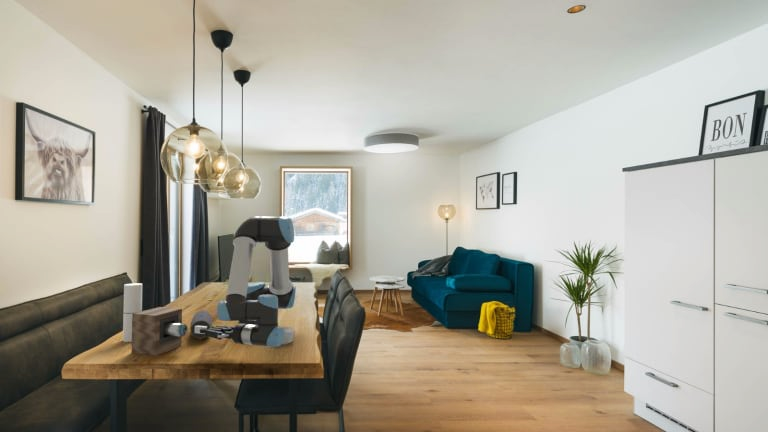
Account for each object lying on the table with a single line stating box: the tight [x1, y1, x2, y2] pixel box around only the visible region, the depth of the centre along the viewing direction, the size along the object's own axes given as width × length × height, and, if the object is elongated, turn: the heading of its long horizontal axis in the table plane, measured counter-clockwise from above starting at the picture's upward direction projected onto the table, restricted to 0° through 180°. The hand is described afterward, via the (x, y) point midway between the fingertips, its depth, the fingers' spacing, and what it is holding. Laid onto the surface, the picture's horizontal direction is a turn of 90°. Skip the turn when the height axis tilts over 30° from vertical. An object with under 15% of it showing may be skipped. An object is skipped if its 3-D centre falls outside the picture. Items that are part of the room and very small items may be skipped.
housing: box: [131, 306, 183, 357], centre depth 174 cm, size 12×14×16 cm
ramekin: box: [281, 326, 296, 345], centre depth 187 cm, size 11×11×5 cm
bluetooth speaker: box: [190, 309, 213, 339], centre depth 196 cm, size 23×9×10 cm, turn 22°
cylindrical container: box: [122, 282, 143, 343], centre depth 188 cm, size 7×7×25 cm
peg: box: [164, 323, 188, 337], centre depth 172 cm, size 12×5×5 cm, turn 74°
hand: (195, 329), depth 168 cm, fingers closed
